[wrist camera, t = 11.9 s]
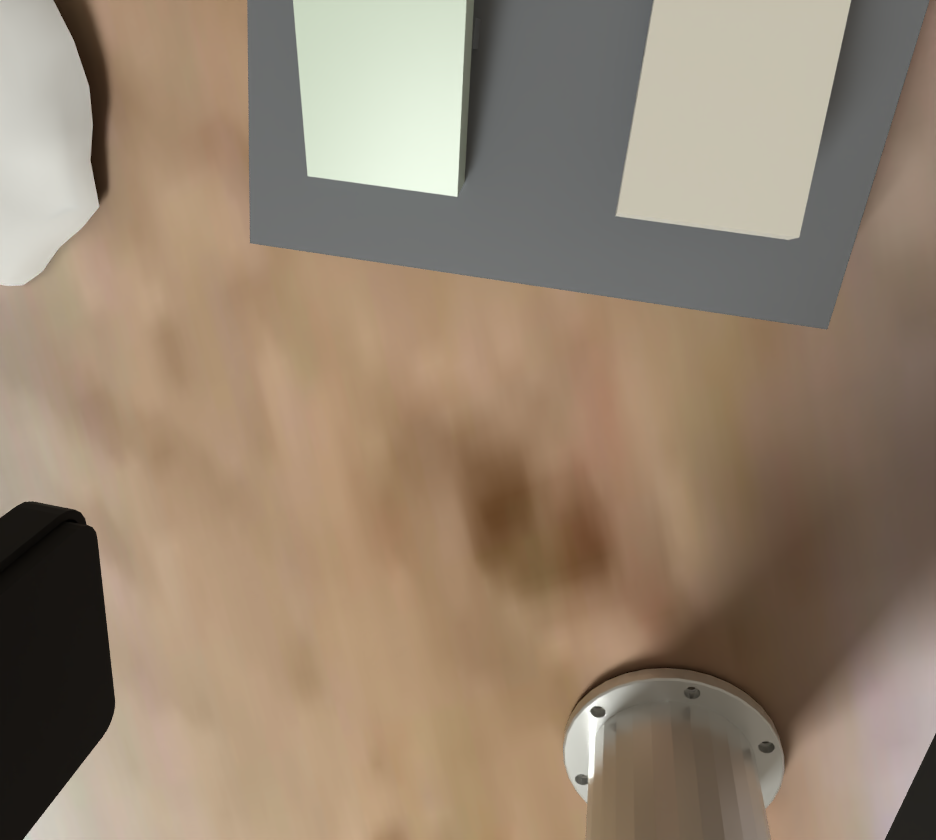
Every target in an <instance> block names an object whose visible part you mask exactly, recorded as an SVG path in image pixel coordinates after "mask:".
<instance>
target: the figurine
mask: <svg viewBox="0 0 936 840" xmlns="http://www.w3.org/2000/svg"><path fill="white" fill-rule="evenodd" d="M92 130H93V121H92V110H91V99H90V89H89V84H88V81H87V78H86V75H85V72H84V69H83V66H82V64H81V61H80V58H79V55H78V52H77V49H76V46H75V43H74V40H73V38H72V36H71V34H70V32H69V30H68V28H67V26H66V24H65V22H64V20H63V18H62V16H61V14H60V12H59V10H58V8H57V6H56V4H55V2H54V1H53V0H0V284H1V285H6V286H17V285H24V284H26V283H27V282H28V281H30V280H31V279H33V278H34V277H36V276H37V275H38V274H40V273H41V272H42V271H43V270H44V269H45V267H46V266H47V264H48V263H49V261H50V260H51V259H52V257H53V256H54V254H55V253H56V252H57V250H58V249H59V247H60V246H62V245H63V244H64V243H65V242H66V241H67V240H69V239H70V238H71V237H72V236H73V235H74V234H76V233H77V232H78V231H79V230H80V229H81V228H82V227H83V226H84V225H85V224H86V223H87V221H88V220H89V219H90V218H91V216H92V215H93V214H94V213H95V212H96V210H97V209H98V208H99V203H98V197H97V192H96V187H95V182H94V176H93V171H92V166H91V161H90V159H91V145H92Z"/></svg>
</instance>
